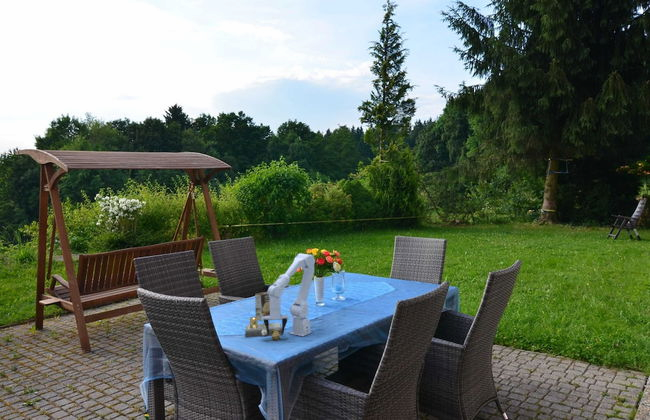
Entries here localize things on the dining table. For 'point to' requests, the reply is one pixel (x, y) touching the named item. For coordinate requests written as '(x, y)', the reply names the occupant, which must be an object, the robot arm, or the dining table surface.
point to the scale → (262, 330)
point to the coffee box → (262, 305)
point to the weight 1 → (253, 322)
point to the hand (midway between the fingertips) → (275, 333)
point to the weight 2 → (276, 334)
